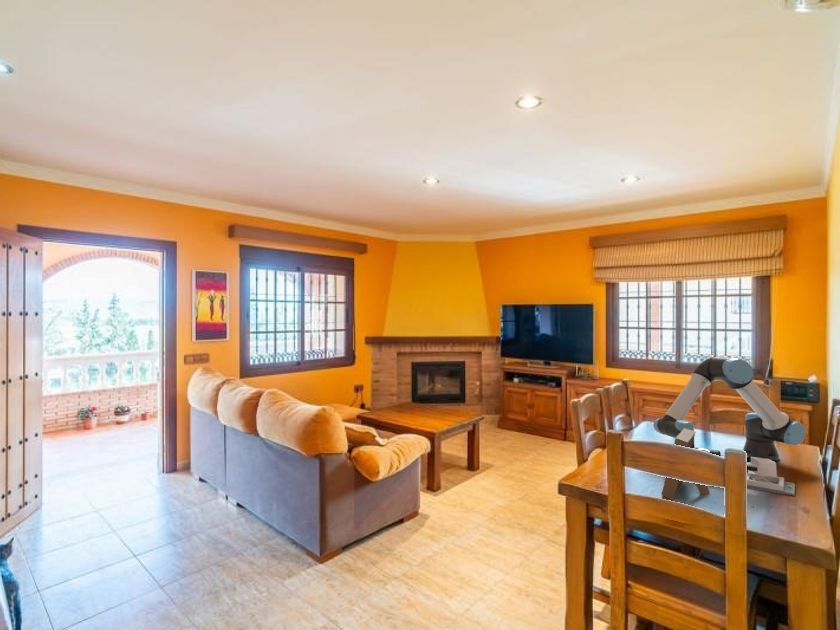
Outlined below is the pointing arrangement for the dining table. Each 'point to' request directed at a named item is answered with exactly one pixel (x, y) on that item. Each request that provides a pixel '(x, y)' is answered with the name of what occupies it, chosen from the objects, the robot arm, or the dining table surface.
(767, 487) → the camera dock
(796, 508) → the dining table surface
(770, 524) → the dining table surface
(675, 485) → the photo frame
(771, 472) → the security camera
